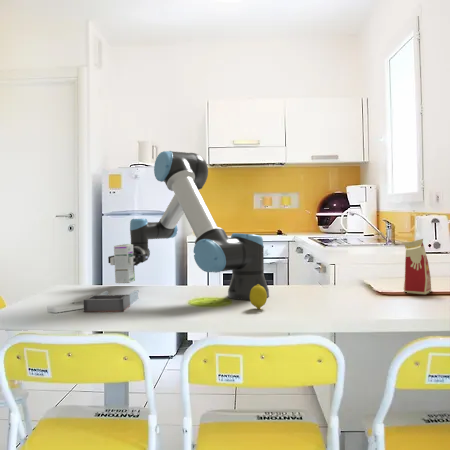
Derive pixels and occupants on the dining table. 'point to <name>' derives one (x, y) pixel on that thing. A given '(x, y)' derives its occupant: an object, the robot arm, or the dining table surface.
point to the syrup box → (123, 263)
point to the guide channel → (132, 296)
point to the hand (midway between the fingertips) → (120, 261)
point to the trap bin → (106, 303)
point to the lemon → (258, 296)
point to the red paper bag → (416, 268)
